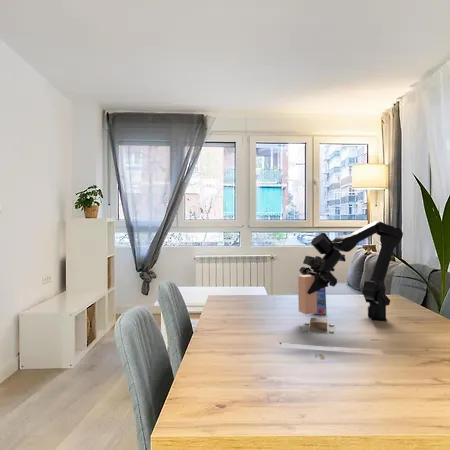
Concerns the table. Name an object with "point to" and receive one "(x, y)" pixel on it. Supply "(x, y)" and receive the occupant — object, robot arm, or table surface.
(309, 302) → the tall brick
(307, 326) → the baseplate
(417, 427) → the table surface
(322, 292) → the ink cartridge box
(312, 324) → the short brick
